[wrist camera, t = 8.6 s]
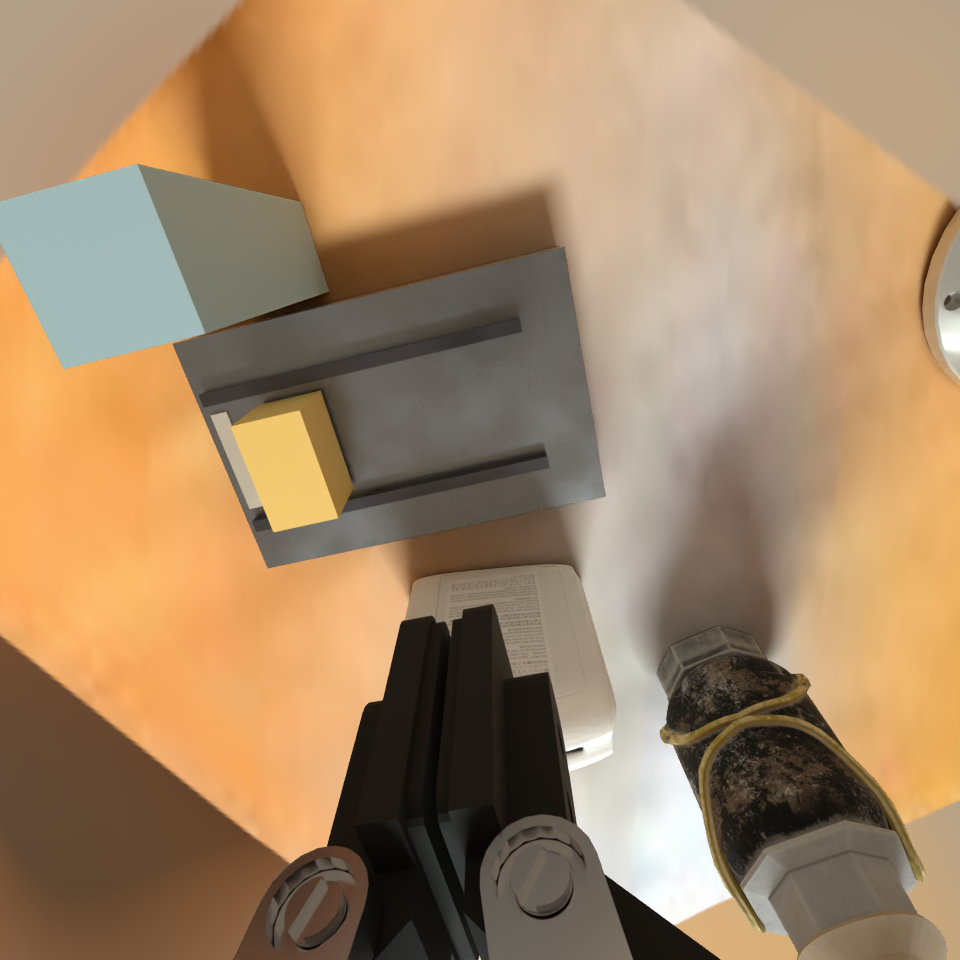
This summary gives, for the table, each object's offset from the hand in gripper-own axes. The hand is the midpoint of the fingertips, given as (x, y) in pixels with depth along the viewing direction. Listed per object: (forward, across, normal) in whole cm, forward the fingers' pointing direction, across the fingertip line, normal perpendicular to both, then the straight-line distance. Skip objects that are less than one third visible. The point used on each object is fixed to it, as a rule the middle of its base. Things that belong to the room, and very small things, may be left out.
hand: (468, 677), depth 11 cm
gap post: (+21, +8, -8) cm, 24 cm away
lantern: (+22, -10, +20) cm, 31 cm away
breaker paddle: (+18, +9, 0) cm, 20 cm away
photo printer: (+21, +2, +12) cm, 25 cm away
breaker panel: (+21, +4, 0) cm, 21 cm away
